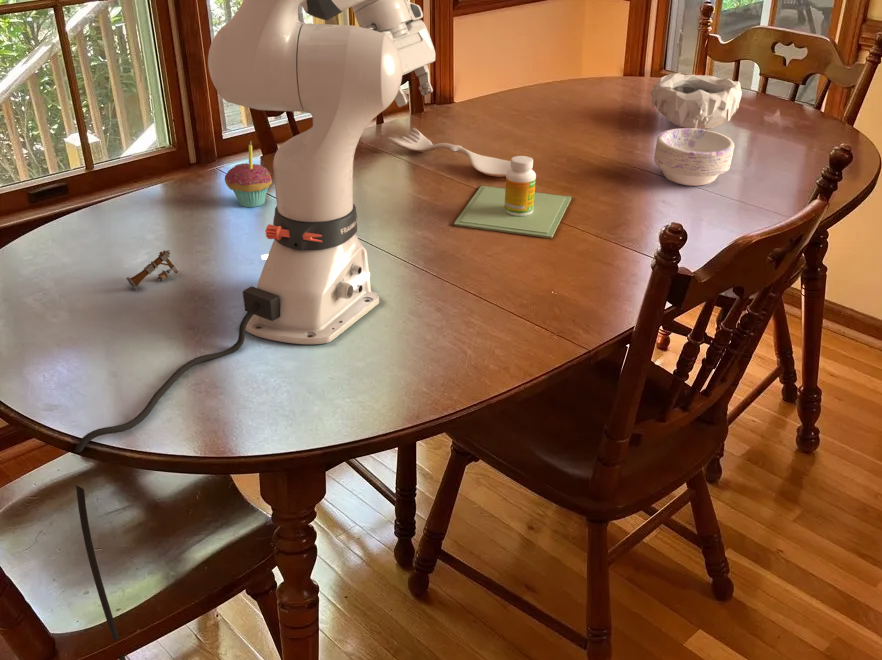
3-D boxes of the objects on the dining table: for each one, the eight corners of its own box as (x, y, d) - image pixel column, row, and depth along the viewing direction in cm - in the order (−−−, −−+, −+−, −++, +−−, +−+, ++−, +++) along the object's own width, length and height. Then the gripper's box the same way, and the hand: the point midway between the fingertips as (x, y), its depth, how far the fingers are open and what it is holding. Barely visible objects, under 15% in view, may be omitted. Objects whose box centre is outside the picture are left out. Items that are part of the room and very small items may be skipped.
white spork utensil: (413, 141, 203) (413, 125, 200) (533, 175, 187) (535, 158, 185) (386, 151, 197) (385, 135, 195) (508, 187, 181) (509, 170, 179)
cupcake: (283, 202, 173) (277, 138, 165) (246, 215, 167) (239, 149, 160) (255, 190, 177) (248, 127, 170) (218, 202, 172) (210, 137, 165)
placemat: (551, 238, 162) (551, 235, 162) (453, 225, 166) (453, 222, 165) (571, 198, 177) (571, 195, 177) (481, 187, 181) (481, 184, 181)
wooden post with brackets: (184, 269, 147) (170, 248, 143) (146, 301, 145) (130, 281, 141) (179, 266, 148) (164, 245, 144) (140, 297, 146) (124, 276, 142)
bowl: (746, 140, 208) (756, 95, 202) (655, 138, 208) (663, 92, 202) (725, 113, 224) (733, 70, 218) (641, 111, 224) (647, 68, 218)
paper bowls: (696, 197, 179) (704, 157, 174) (636, 175, 188) (641, 136, 183) (742, 180, 187) (750, 141, 182) (681, 160, 196) (688, 122, 191)
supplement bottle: (531, 218, 168) (535, 165, 162) (502, 215, 168) (505, 162, 163) (534, 207, 172) (539, 155, 166) (506, 204, 173) (509, 153, 167)
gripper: (369, 21, 149) (404, 105, 154) (424, 5, 164) (454, 82, 169) (340, 37, 152) (374, 118, 157) (396, 19, 168) (426, 94, 173)
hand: (416, 99), depth 163 cm, fingers open, 8 cm apart
